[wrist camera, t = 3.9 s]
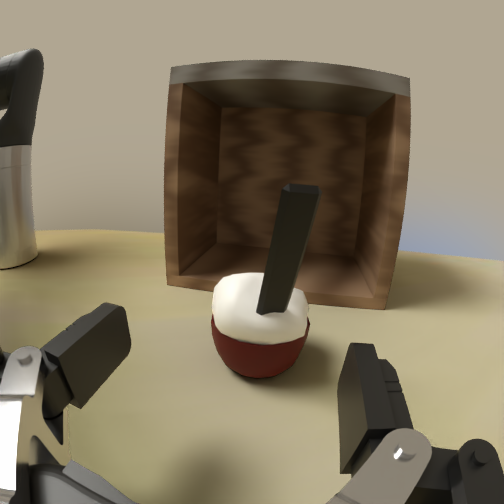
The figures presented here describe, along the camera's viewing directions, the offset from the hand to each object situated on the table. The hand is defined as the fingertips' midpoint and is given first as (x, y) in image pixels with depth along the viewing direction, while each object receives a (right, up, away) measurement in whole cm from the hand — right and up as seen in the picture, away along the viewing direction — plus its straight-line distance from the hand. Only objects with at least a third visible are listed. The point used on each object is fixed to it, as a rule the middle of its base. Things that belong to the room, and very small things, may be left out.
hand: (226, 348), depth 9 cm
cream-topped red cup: (+1, -5, +9) cm, 11 cm away
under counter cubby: (+4, +1, +26) cm, 26 cm away
